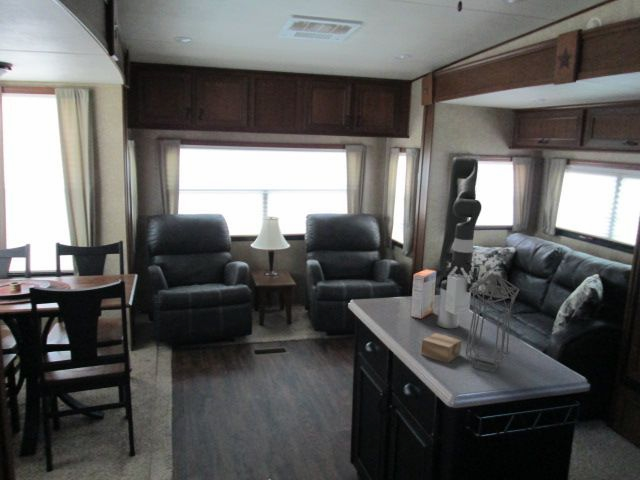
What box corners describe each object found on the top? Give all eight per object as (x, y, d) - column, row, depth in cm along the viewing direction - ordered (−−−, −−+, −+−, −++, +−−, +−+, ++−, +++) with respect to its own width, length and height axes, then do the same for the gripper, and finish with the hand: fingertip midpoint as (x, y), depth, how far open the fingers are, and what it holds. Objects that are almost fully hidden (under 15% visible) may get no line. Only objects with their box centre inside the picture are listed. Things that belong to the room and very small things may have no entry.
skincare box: (460, 307, 216) (463, 272, 213) (470, 312, 211) (473, 276, 208) (443, 310, 212) (447, 274, 210) (453, 314, 207) (457, 278, 204)
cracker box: (422, 309, 259) (425, 268, 256) (433, 312, 256) (437, 270, 252) (409, 316, 248) (413, 273, 244) (421, 319, 245) (425, 275, 241)
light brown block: (434, 347, 211) (435, 332, 210) (460, 354, 204) (461, 340, 203) (421, 354, 203) (422, 339, 202) (447, 362, 196) (448, 347, 195)
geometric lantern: (469, 354, 205) (479, 267, 199) (511, 364, 198) (522, 274, 191) (458, 368, 192) (468, 275, 186) (503, 379, 184) (514, 282, 178)
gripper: (484, 251, 205) (480, 292, 208) (450, 245, 214) (446, 284, 217) (476, 254, 200) (472, 295, 203) (442, 248, 208) (438, 287, 212)
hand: (459, 289), depth 210 cm, fingers closed on skincare box, 7 cm apart
